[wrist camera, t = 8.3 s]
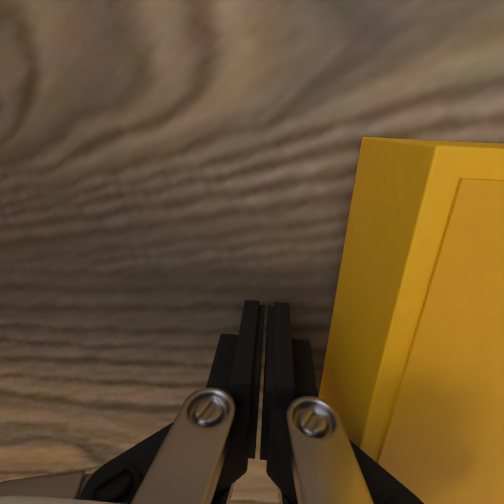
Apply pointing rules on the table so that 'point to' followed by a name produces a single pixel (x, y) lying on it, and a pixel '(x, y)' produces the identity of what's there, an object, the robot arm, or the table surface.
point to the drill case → (424, 317)
